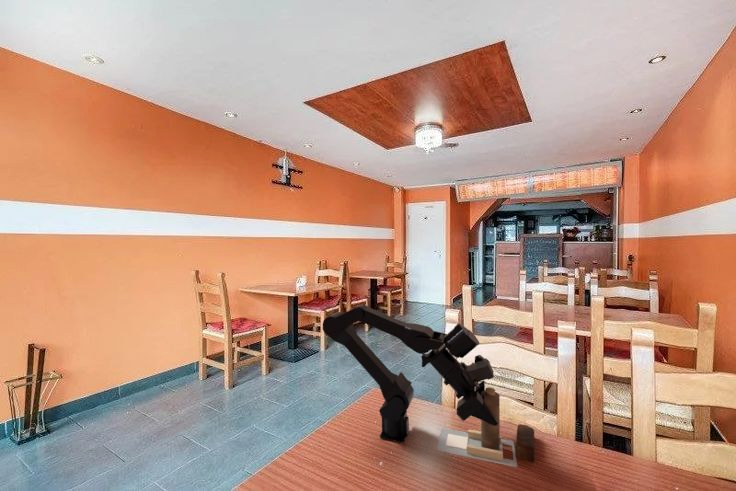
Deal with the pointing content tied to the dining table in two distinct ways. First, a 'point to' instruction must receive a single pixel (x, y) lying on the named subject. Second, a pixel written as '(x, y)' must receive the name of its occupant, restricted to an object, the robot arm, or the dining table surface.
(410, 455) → the dining table surface
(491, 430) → the pepper mill
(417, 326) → the robot arm
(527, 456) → the brick
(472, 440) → the board
